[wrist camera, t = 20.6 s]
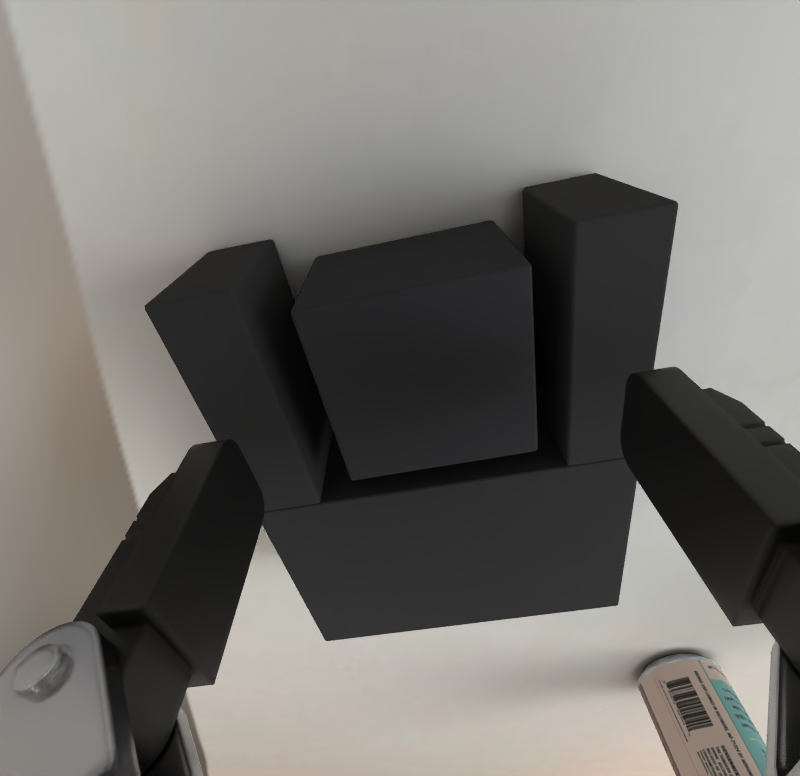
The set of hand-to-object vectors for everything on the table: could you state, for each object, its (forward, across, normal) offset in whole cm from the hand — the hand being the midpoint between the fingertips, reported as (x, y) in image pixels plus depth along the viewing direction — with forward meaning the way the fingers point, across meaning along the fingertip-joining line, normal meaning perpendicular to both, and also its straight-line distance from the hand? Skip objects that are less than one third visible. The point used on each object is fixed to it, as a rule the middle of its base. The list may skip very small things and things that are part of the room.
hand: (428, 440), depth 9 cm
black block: (+6, 0, 0) cm, 6 cm away
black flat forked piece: (+6, 0, +4) cm, 7 cm away
